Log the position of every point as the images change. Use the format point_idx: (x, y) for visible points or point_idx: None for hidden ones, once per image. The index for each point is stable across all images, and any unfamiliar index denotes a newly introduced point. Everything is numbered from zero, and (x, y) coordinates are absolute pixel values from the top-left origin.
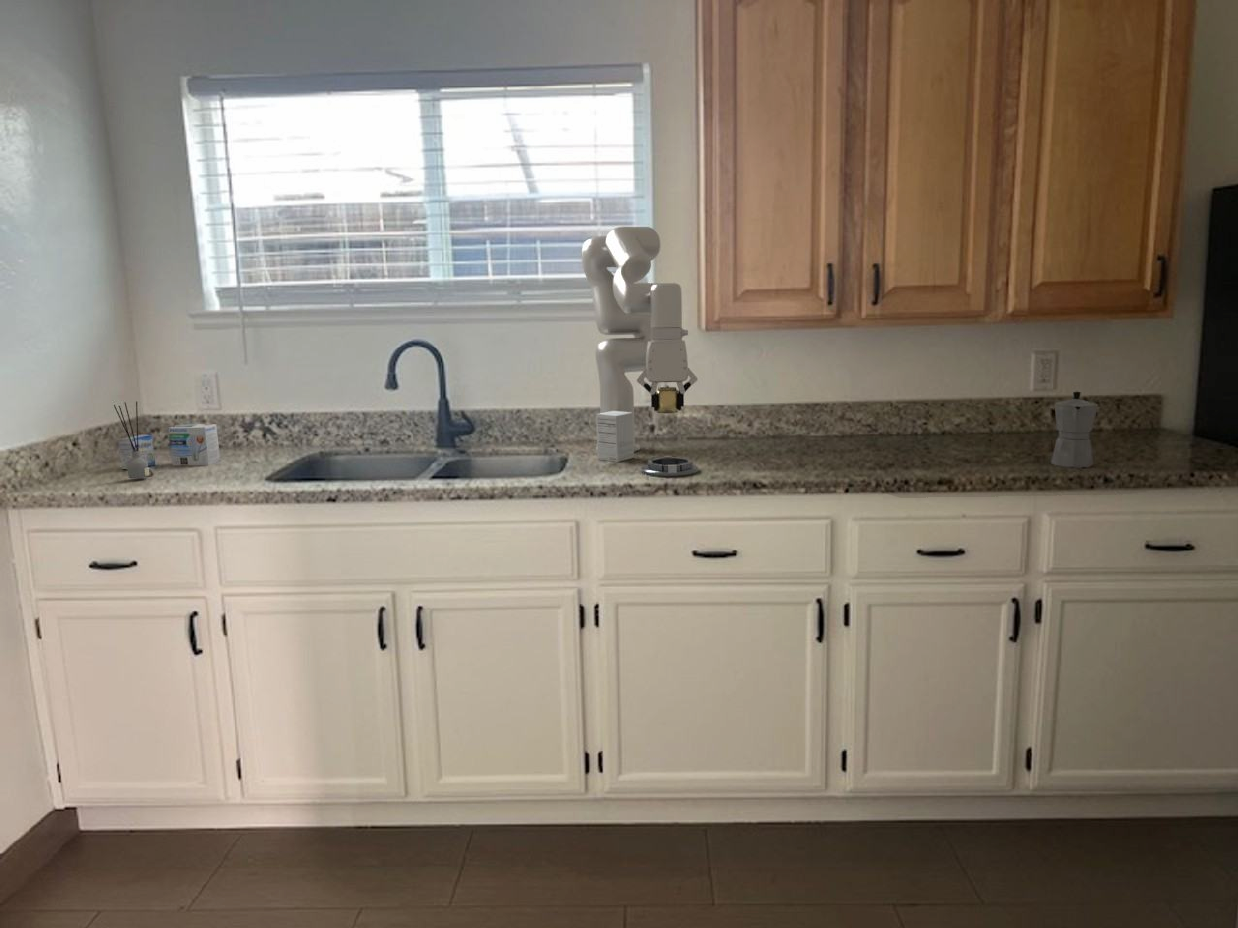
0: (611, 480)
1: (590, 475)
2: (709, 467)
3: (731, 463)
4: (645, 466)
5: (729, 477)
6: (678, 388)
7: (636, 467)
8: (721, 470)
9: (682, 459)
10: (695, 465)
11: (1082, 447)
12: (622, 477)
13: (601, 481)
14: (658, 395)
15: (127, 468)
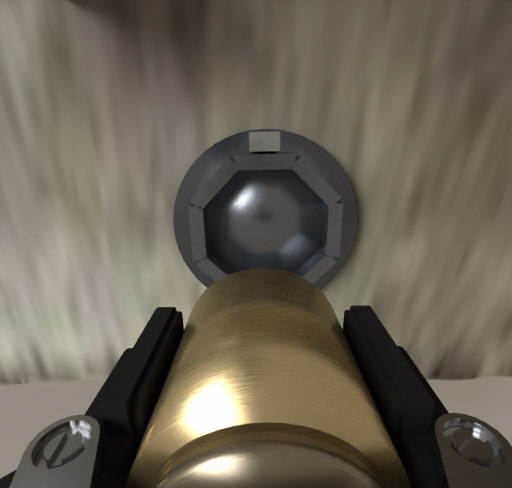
0: (100, 319)
1: (23, 248)
2: (403, 163)
3: (502, 93)
4: (184, 193)
5: (418, 317)
6: (442, 484)
7: (153, 130)
8: (426, 219)
9: (314, 191)
10: (353, 197)
11: None
12: (125, 286)
13: (75, 328)
14: None
15: None
